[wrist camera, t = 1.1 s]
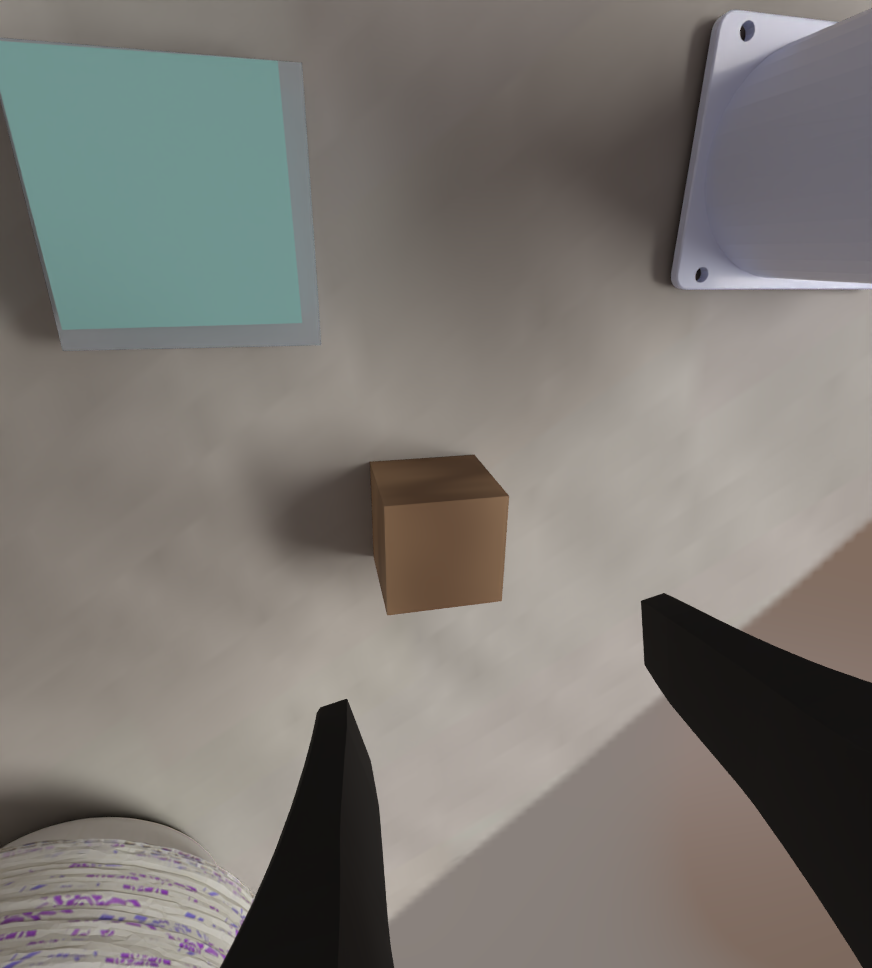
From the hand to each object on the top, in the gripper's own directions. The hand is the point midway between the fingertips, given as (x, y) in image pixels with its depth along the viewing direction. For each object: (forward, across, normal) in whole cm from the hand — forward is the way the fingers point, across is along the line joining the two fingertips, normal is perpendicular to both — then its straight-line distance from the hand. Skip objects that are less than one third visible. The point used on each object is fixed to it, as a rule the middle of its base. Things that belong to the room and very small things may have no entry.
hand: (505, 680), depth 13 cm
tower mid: (+8, +4, -11) cm, 15 cm away
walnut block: (+10, 0, 0) cm, 10 cm away
